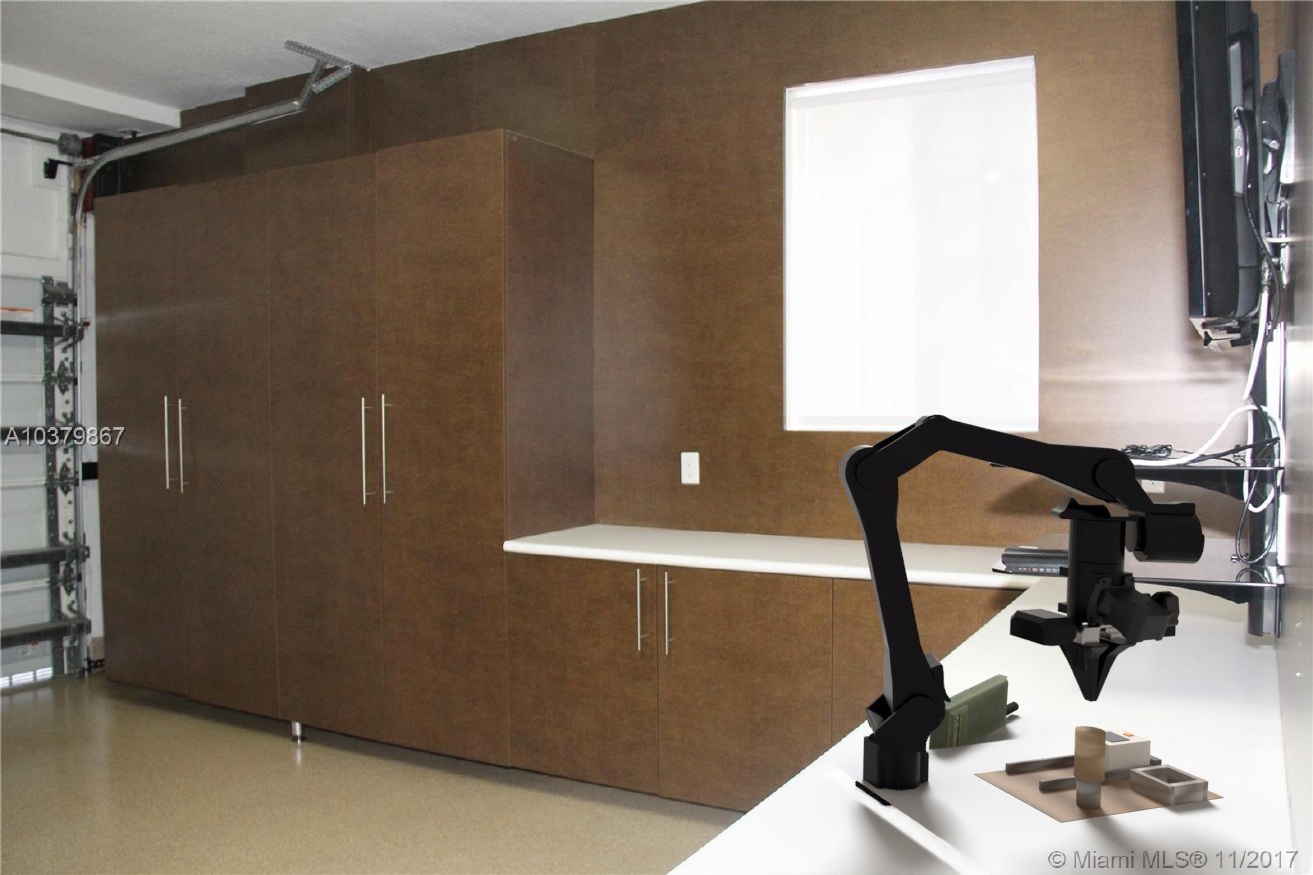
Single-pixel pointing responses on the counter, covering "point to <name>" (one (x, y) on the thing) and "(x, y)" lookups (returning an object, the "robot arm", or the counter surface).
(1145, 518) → the robot arm
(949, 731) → the handheld radio
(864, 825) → the counter surface
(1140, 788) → the board
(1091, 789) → the tan rounded cylinder
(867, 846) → the counter surface
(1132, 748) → the box
